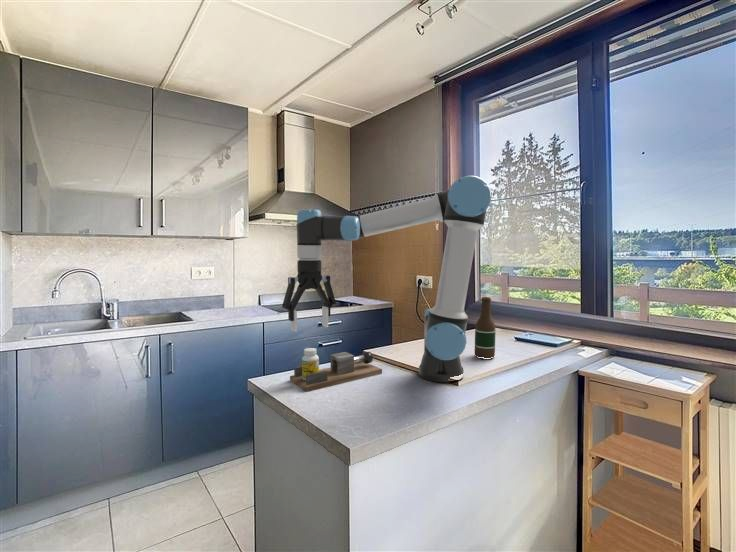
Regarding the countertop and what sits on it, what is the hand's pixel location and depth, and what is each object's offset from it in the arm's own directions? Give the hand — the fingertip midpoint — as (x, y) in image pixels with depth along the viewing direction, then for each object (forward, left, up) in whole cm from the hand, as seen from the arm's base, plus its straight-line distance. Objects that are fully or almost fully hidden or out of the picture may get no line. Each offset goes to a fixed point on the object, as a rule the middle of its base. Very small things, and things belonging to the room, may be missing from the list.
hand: (310, 328), depth 124 cm
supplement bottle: (0, 0, -17) cm, 17 cm away
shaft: (0, -17, -15) cm, 23 cm away
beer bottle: (-14, -70, -18) cm, 74 cm away
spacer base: (0, -10, -18) cm, 20 cm away
